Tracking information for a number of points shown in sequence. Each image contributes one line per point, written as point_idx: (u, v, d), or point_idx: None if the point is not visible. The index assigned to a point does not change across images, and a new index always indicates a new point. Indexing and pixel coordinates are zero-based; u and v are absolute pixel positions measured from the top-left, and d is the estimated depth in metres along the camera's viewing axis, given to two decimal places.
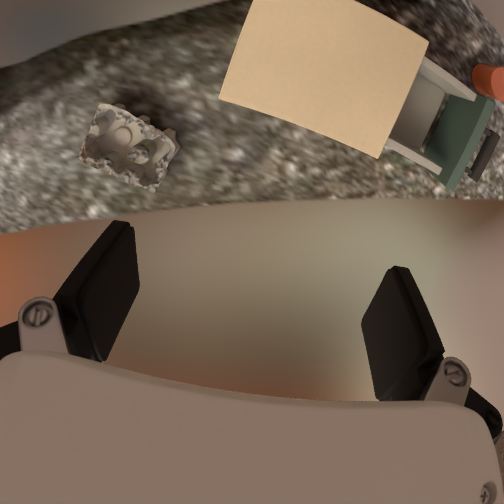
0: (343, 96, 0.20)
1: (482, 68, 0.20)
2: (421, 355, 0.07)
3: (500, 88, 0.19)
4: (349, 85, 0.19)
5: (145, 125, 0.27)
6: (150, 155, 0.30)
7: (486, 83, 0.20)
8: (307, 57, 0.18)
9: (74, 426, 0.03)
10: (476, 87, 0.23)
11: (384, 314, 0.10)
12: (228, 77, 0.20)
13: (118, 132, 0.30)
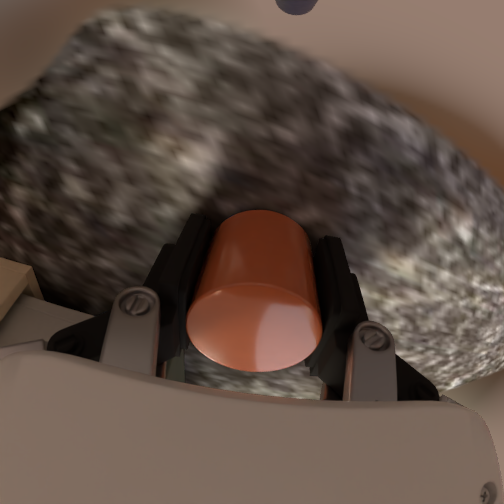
0: None
1: None
2: (336, 316, 0.08)
3: (242, 350, 0.09)
4: None
5: None
6: None
7: None
8: None
9: (74, 426, 0.03)
10: None
11: None
12: None
13: None
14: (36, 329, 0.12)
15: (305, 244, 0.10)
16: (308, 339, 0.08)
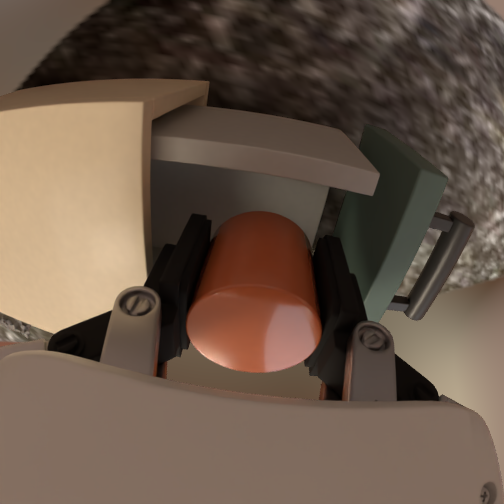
0: (56, 293, 0.11)
1: (202, 265, 0.10)
2: (335, 316, 0.08)
3: (241, 351, 0.09)
4: (51, 275, 0.11)
5: None
6: None
7: None
8: None
9: (74, 426, 0.03)
10: None
11: None
12: None
13: None
14: (237, 116, 0.12)
15: (305, 245, 0.10)
16: (308, 340, 0.08)
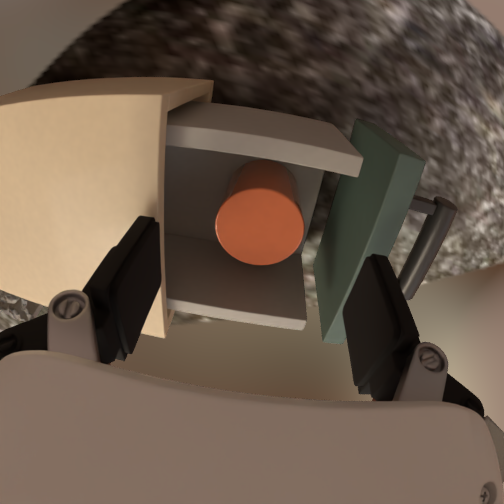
0: (71, 270, 0.12)
1: (225, 191, 0.15)
2: (395, 339, 0.07)
3: (251, 243, 0.14)
4: (67, 252, 0.12)
5: None
6: None
7: None
8: (12, 227, 0.11)
9: (74, 426, 0.03)
10: None
11: (362, 301, 0.10)
12: None
13: None
14: (239, 111, 0.13)
15: (293, 180, 0.15)
16: (295, 232, 0.13)
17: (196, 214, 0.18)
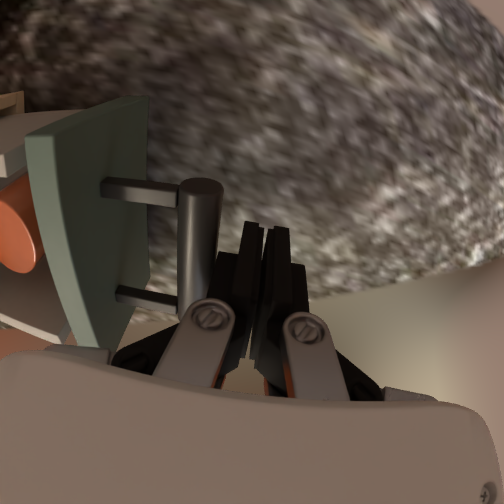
0: None
1: None
2: (267, 306, 0.08)
3: (5, 251, 0.10)
4: None
5: None
6: None
7: None
8: None
9: (74, 426, 0.03)
10: None
11: (261, 273, 0.10)
12: None
13: None
14: (5, 122, 0.10)
15: None
16: (26, 240, 0.10)
17: None
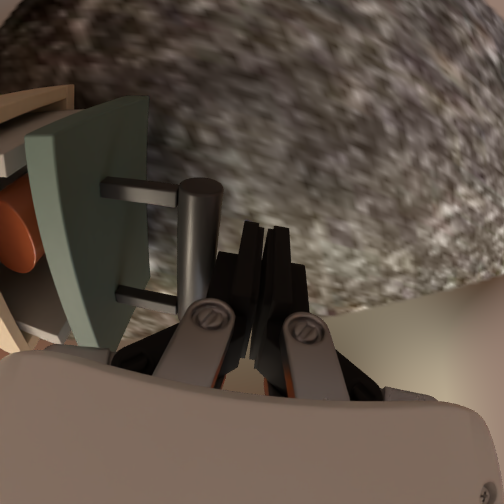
0: None
1: None
2: (267, 306, 0.08)
3: (5, 251, 0.10)
4: None
5: None
6: None
7: None
8: None
9: (74, 426, 0.03)
10: None
11: (261, 273, 0.10)
12: None
13: None
14: (5, 122, 0.10)
15: None
16: (26, 240, 0.10)
17: None
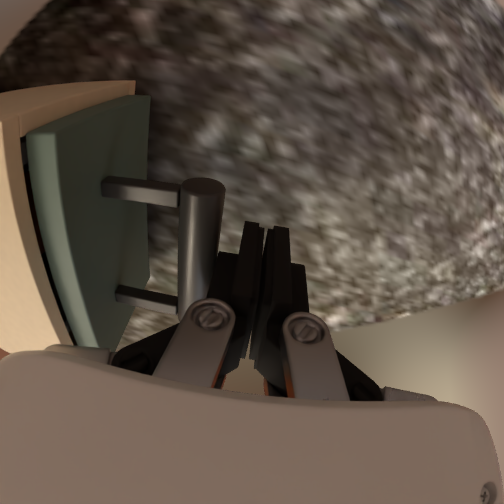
0: None
1: None
2: (267, 306, 0.08)
3: None
4: None
5: None
6: None
7: None
8: None
9: (74, 426, 0.03)
10: None
11: (261, 273, 0.10)
12: None
13: None
14: None
15: None
16: None
17: None
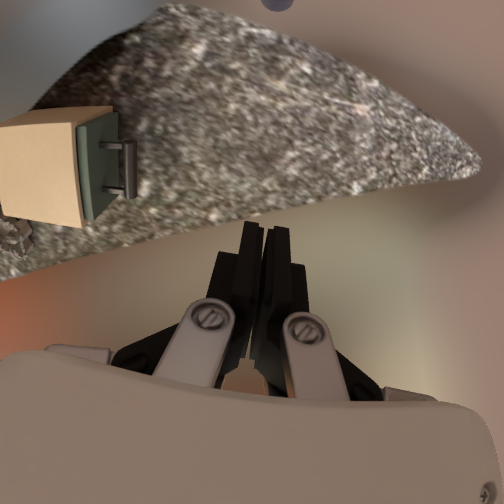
0: (44, 195, 0.26)
1: None
2: (267, 306, 0.08)
3: None
4: (43, 186, 0.26)
5: (4, 223, 0.35)
6: (17, 238, 0.38)
7: None
8: (20, 178, 0.25)
9: (74, 426, 0.03)
10: None
11: (261, 273, 0.10)
12: (1, 202, 0.27)
13: (3, 223, 0.39)
14: None
15: None
16: None
17: None
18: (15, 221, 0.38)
